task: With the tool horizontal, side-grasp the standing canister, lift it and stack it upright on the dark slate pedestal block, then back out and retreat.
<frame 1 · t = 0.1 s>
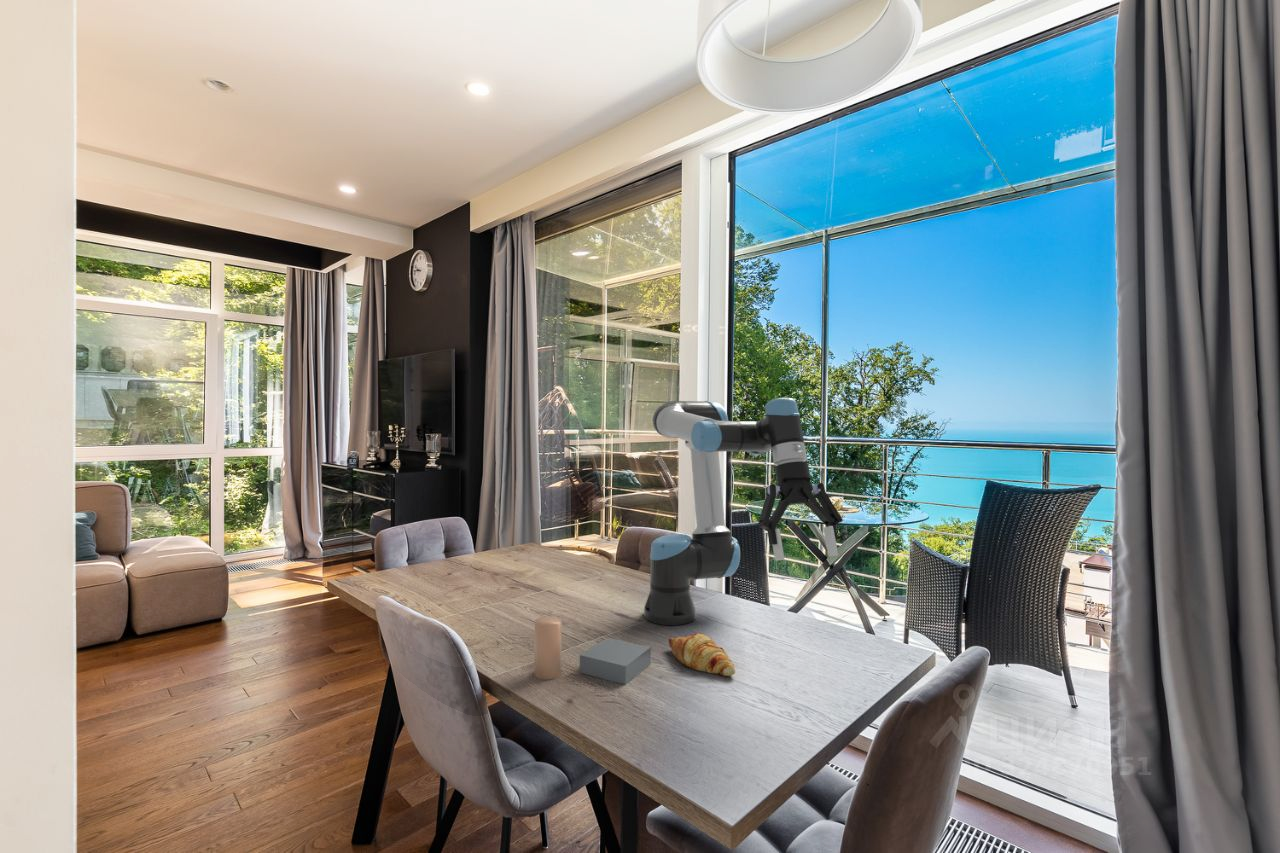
hand: (806, 558, 127), 28 cm above the table, tool tilted 20°, fingers open, 13 cm apart
pedestal: (615, 668, 134), on the table
croissant: (699, 665, 137), on the table
canister: (547, 673, 131), on the table
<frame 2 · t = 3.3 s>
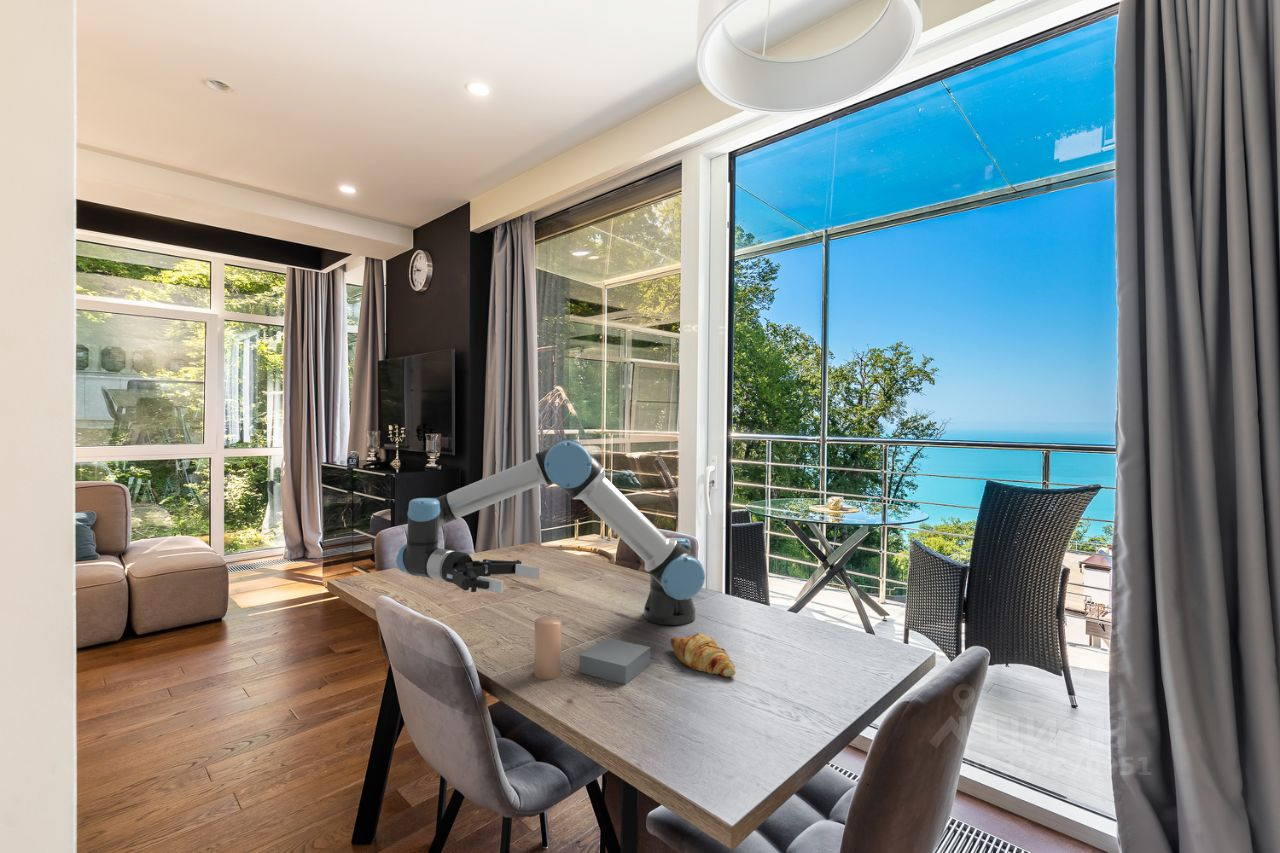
hand: (521, 580, 134), 20 cm above the table, tool horizontal, fingers open, 13 cm apart
nothing on the table moved.
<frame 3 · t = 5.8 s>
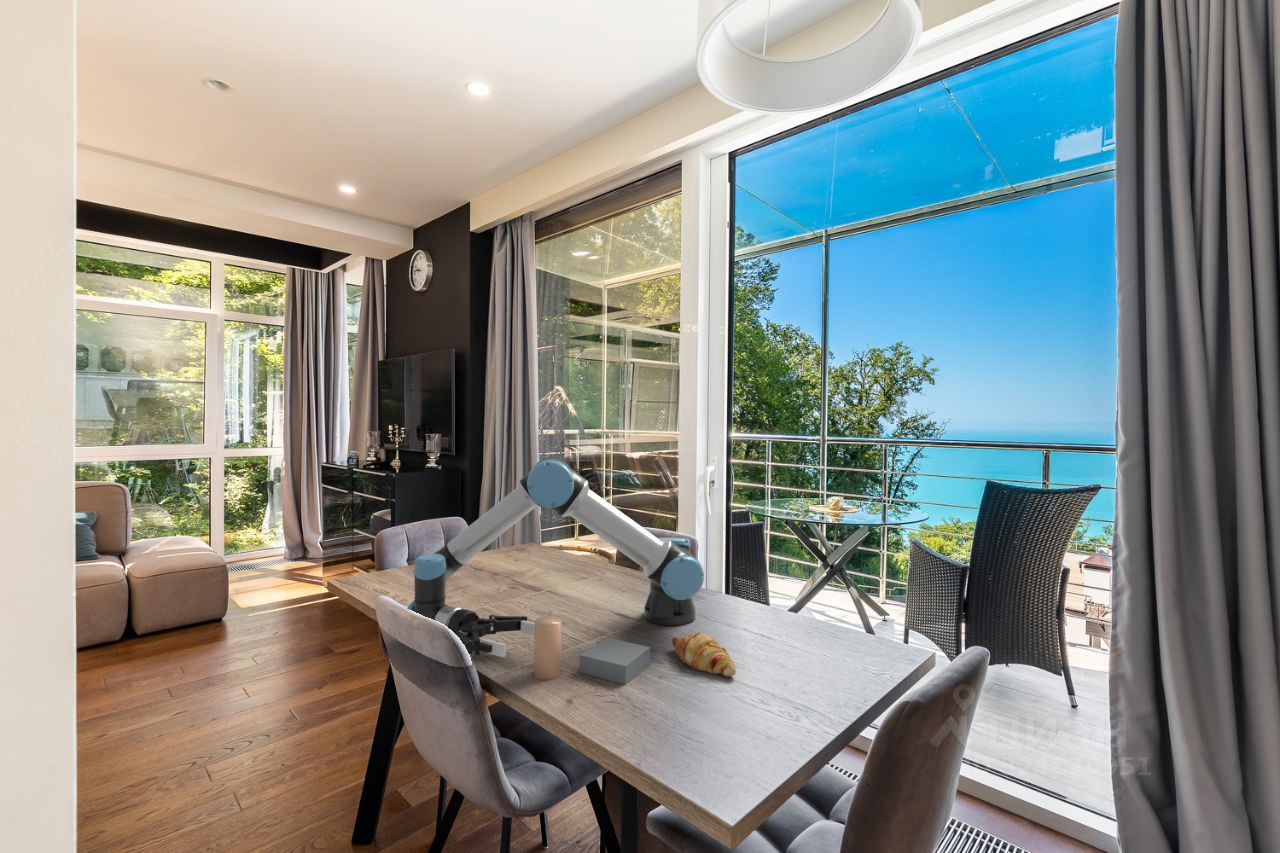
hand: (524, 640, 133), 6 cm above the table, tool horizontal, fingers open, 13 cm apart
nothing on the table moved.
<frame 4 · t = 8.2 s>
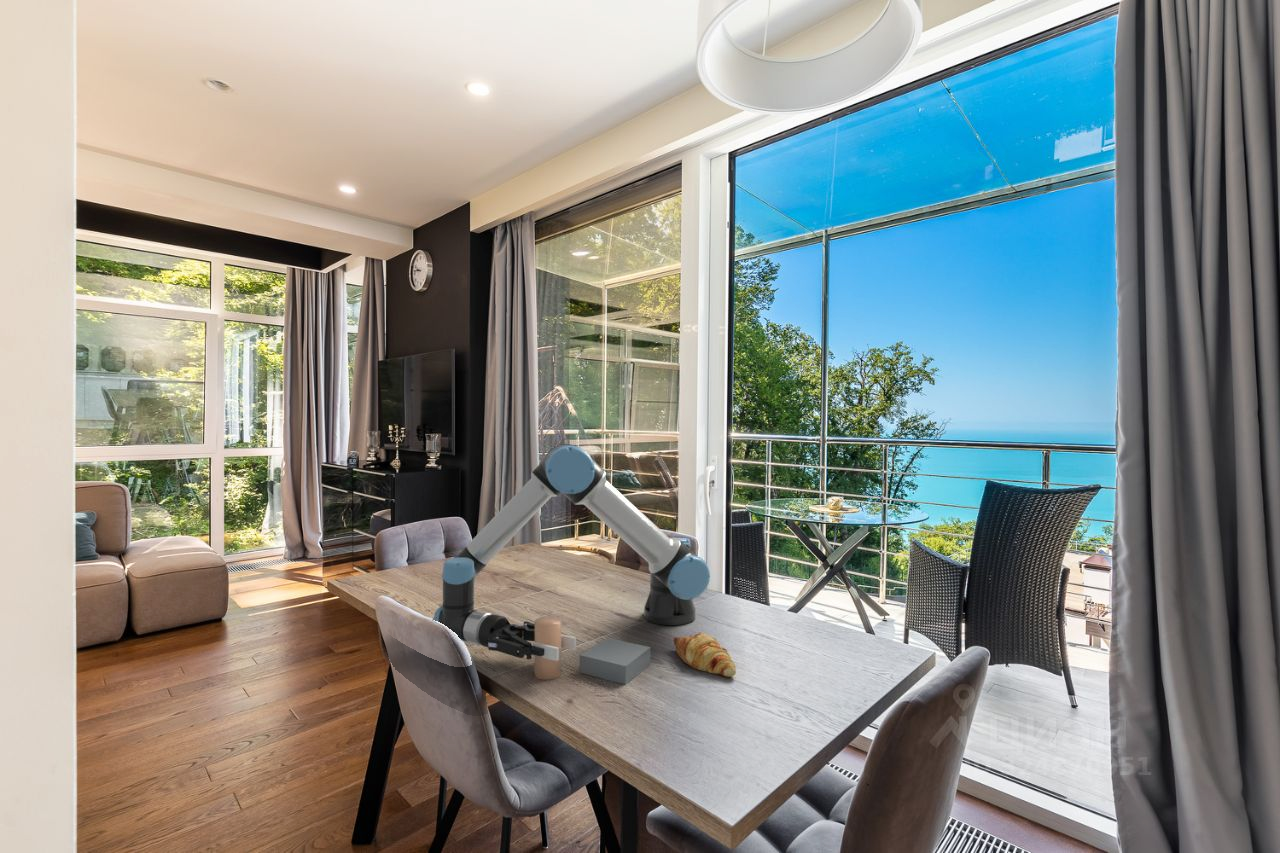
hand: (566, 648, 128), 7 cm above the table, tool horizontal, fingers closed on canister, 6 cm apart
canister: (547, 673, 131), on the table, touching gripper
everything else where it was.
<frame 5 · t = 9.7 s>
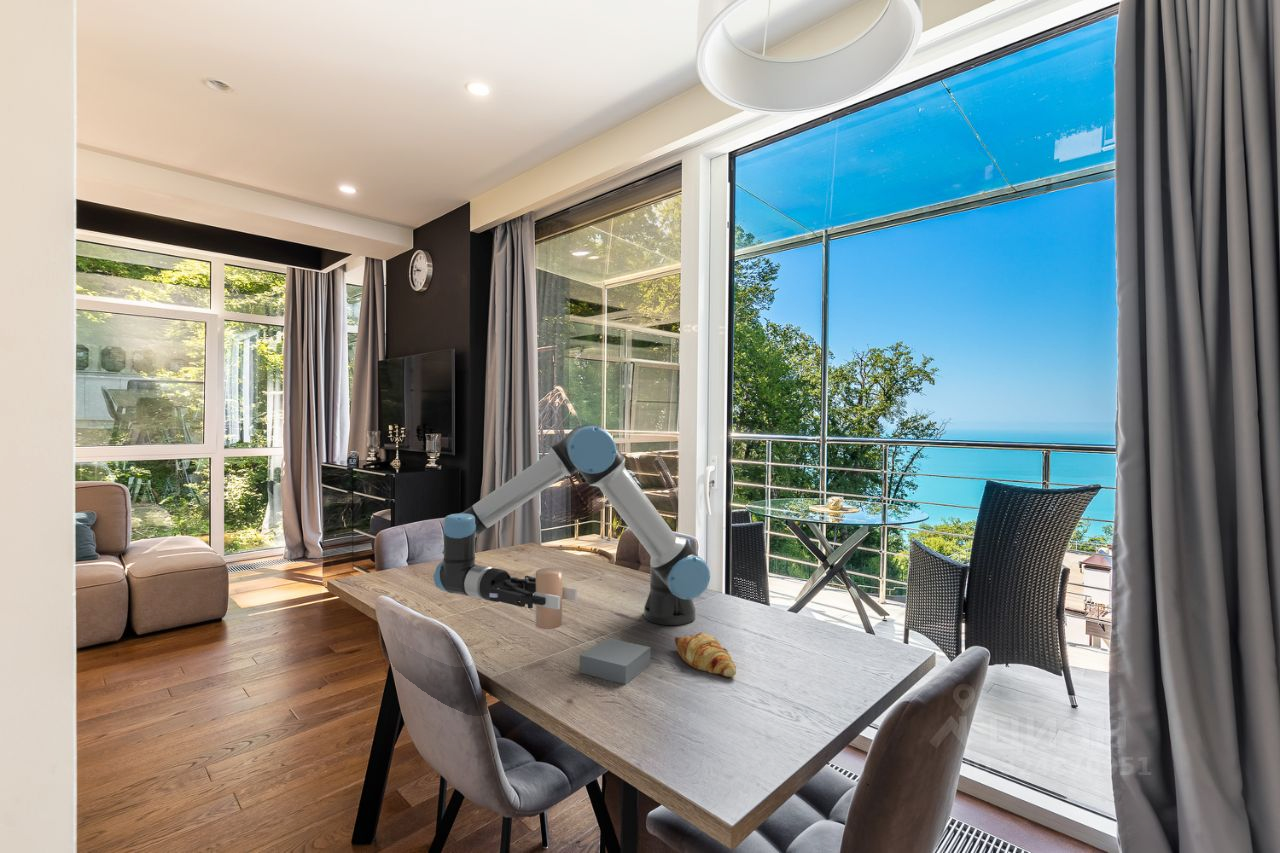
hand: (567, 598, 128), 18 cm above the table, tool horizontal, fingers closed on canister, 6 cm apart
canister: (548, 624, 131), point 11 cm above the table, touching gripper
everything else where it was.
when the fingers open (12 cm above the table, at t = 12.3 s): canister drops 2 cm, resting on pedestal.
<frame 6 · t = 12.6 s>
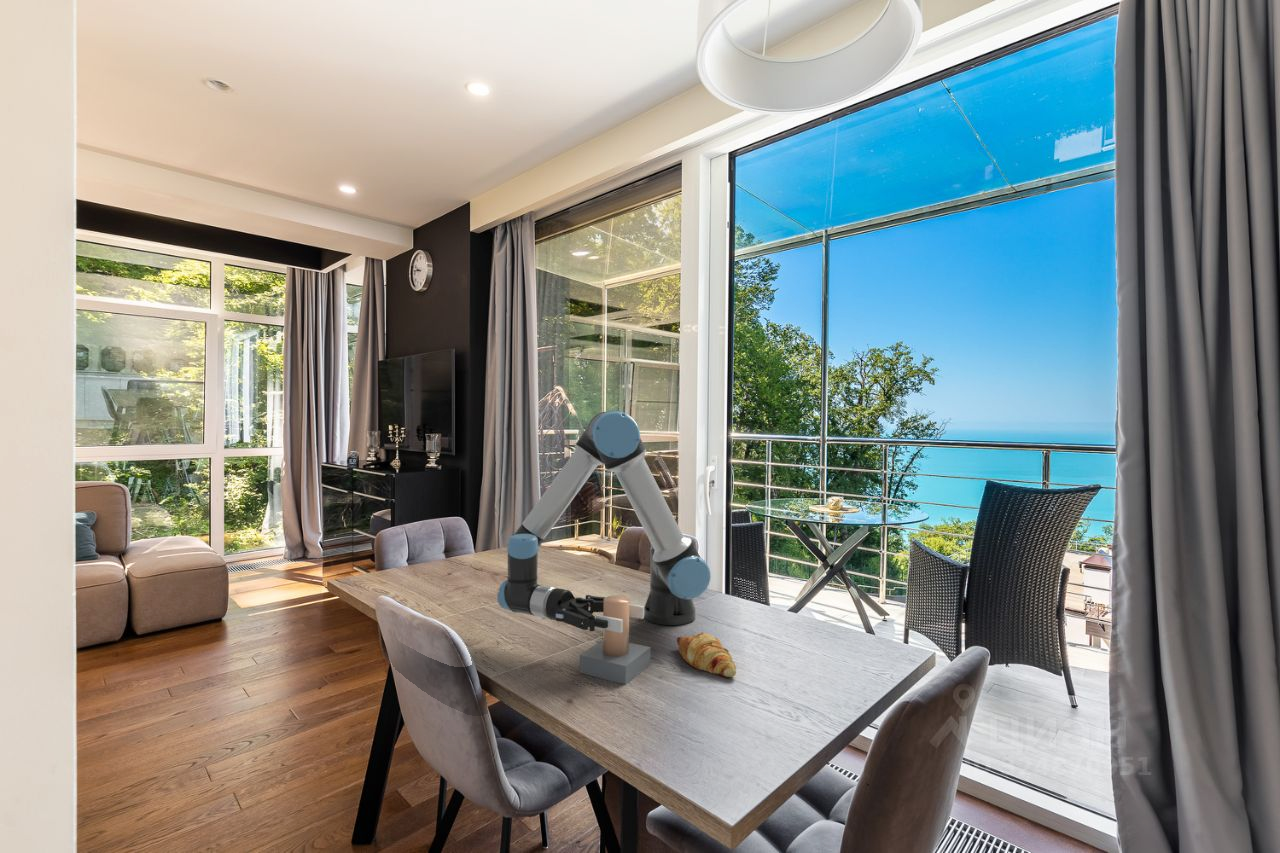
hand: (633, 619, 132), 12 cm above the table, tool horizontal, fingers open, 9 cm apart
canister: (615, 650, 134), point 4 cm above the table, touching pedestal
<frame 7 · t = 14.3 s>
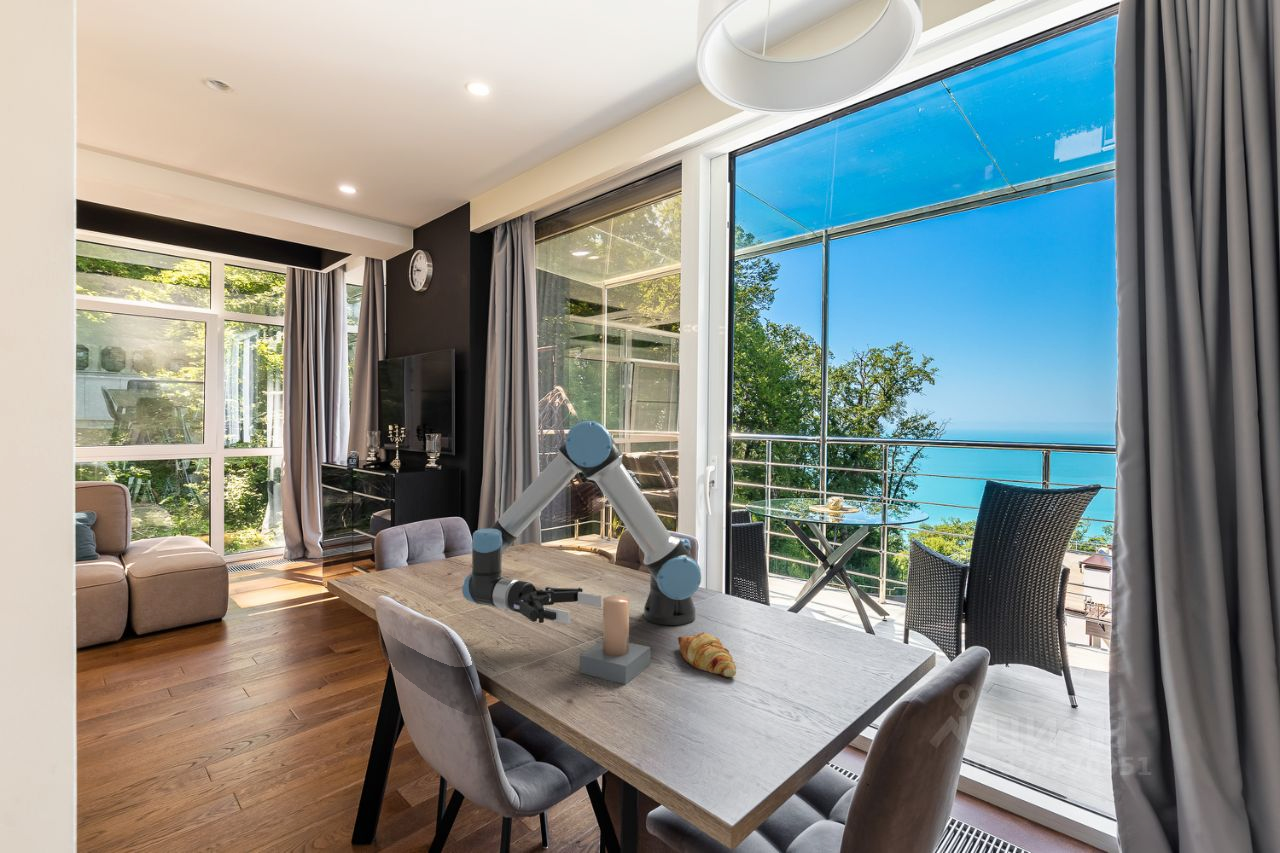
hand: (585, 609, 138), 12 cm above the table, tool horizontal, fingers open, 13 cm apart
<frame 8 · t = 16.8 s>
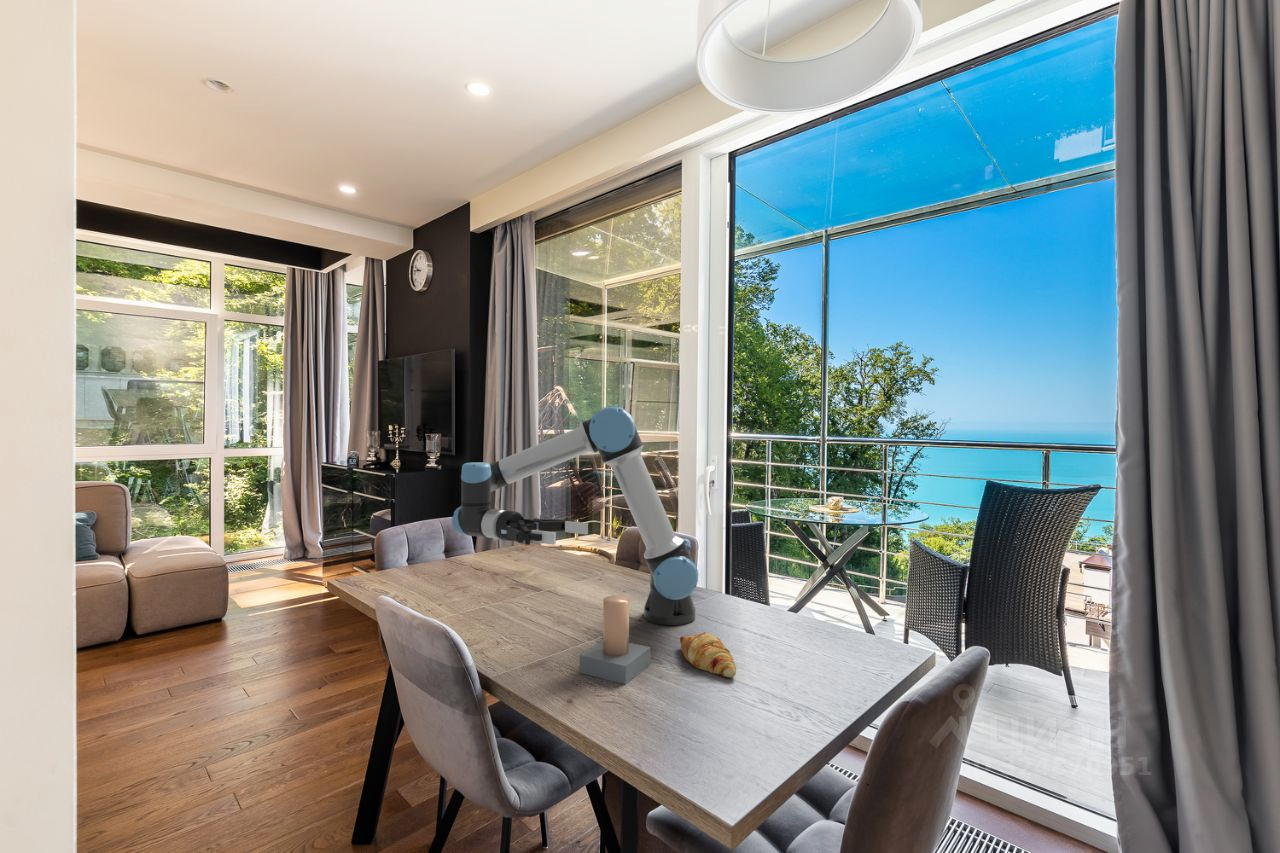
hand: (571, 533, 140), 30 cm above the table, tool horizontal, fingers open, 13 cm apart
at the end: canister inside the target area on the pedestal (0.1 cm from its centre), point 4.0 cm above the pedestal's base; canister tilted 0°; the gripper is holding nothing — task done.
